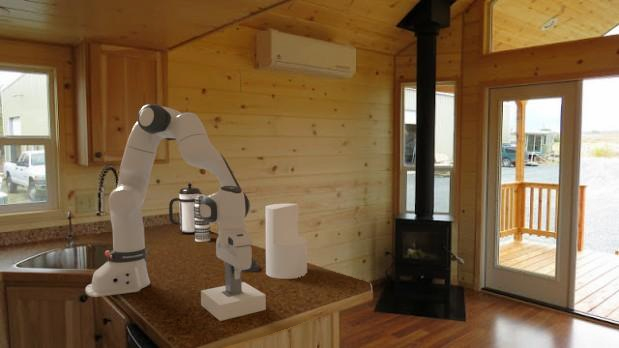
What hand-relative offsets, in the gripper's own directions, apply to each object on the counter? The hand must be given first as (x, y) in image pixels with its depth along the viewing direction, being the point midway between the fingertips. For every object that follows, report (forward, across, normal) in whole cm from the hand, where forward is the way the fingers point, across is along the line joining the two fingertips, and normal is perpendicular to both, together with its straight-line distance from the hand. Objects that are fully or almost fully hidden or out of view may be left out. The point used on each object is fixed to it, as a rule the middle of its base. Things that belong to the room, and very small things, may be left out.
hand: (233, 276), depth 146 cm
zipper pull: (+11, -45, +25) cm, 52 cm away
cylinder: (+11, -23, +35) cm, 43 cm away
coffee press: (+11, -124, +28) cm, 127 cm away
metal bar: (+5, 0, 0) cm, 5 cm away
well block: (+10, 0, 0) cm, 10 cm away
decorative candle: (+11, -101, +28) cm, 105 cm away
